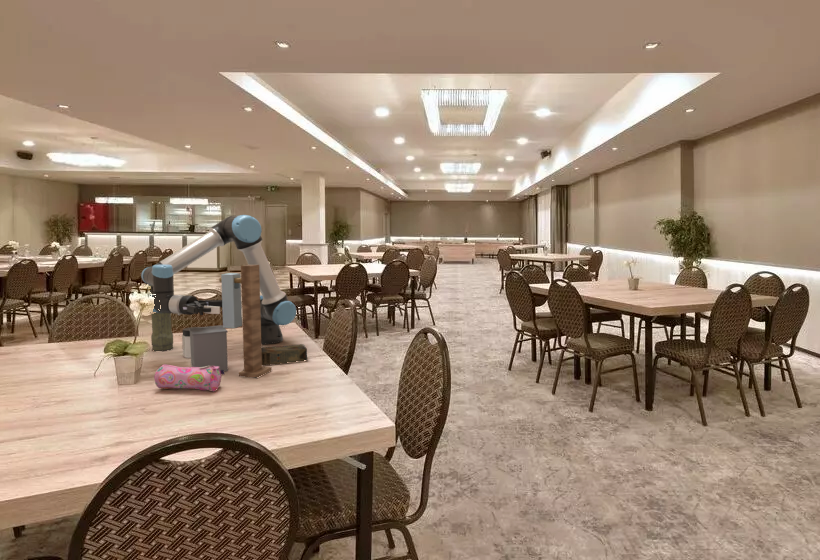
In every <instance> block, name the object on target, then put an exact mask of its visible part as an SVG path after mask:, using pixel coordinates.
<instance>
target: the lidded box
mask: <svg viewBox="0 0 820 560" xmlns="http://www.w3.org/2000/svg"><path fill="white" fill-rule="evenodd" d="M196 327H197V328H190V327H188V328H189V331H190V347H191V358H190V366H191V367H205V366H208V365H210V366H218V367H219V369H220V370H224V372H228V371H229V366H228V365H229V364H228V363H229V362H228V361H229V360H228V338H227V337H228V336H227V334H228V330H227V328H223V324H222V325H213V326H212V325H211V326H196Z"/></svg>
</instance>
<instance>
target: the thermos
mask: <svg viewBox="0 0 820 560" xmlns="http://www.w3.org/2000/svg"><path fill="white" fill-rule="evenodd" d="M148 286H151V290H150V292H151V293H152V294H153V286H152V285H148V284H147V288H146V290H147V289H148ZM147 292H148V290H147V291H146V293H147ZM150 314H151V313H150ZM151 330H152V334H151V336H150V338H151V340H150V341H151V348H152V351H153V350H154V351H153V352H156V351H162V352H168V351H167V350H169V351H172V350H173V349H174V334H173V332H172V330H173V329H172V313H158V312H156V313H154V314H151ZM171 349H172V350H171Z"/></svg>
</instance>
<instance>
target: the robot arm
mask: <svg viewBox="0 0 820 560" xmlns="http://www.w3.org/2000/svg"><path fill="white" fill-rule="evenodd" d="M262 229H263V228H262V226H261V223H260V221H259V220H258V219H257V218H255V217H253V216H251V215H248V214H240V215H238V214H236V215H229V216H227V217H225V218H224V219H222V220H220V221H219V222H217V223H215V224H214V225H213V226H212V227H210V228H209V230H208V232H207V233H205V234H203V235H201V236H200V237H197V239H194V240H193V241H191V242H190V243H188V244H186V245H184V246H183V247H182V248H180V249H179V250H177V251H175V252H174V253H172V254H170V255H169V256H167V257H166V258H164V259H162V260H160V261H159V262H158V263H156V264H154V265H152V266H147V267H146V268H144V269H143V270H142V272H141V280H142V281H143V282H144V283H145V284H146V285H147V286H148V285H152V286H153V294H156V295H152V297H154V298H155V299H154V304H155V306H154V309H153V312H158V313H171V314H174V315H175V314H177V316H181V315H186V316H187V315H190V316H191V315H198V314H199V316H203V315H204V314H211V315H220V314H221V308H222V299H205V300H204V299H198V298H197V297H196V296H194V295H184V294H175V290H174V285H175V284H174V282H175V281H174V276H175V274H177V273H179V272H180V271H182V270H183V269H185V268H186V267H189V265H191V264H192V263H194V262H197V260H199V259H201V258H202V257H204V256H206V255H207V254H209V253H210V252H212V251H213V250H215V249H217V248H218V247H224V246H225V245H228V244H229V243H234V245H235V247H236V249H237V250H238V251H239V252H242V254H243V256H244V258H245V260H246V263H247V265H250V264H251V265H259V276H260V313H261V345H273V344H277V343H281V342H283V341H284V334H283V333H282V329H281V326H286V325H290V324H292V322H293V321H294V320H295V317H296V315H297V307H296V305H295V304H294V303H293V302H292V301H290V300H289V298H288V295H287V294H286V292H285V291H283V290H281V288H280V286H279V283H278V281H277V279H276V276H275V274H274V272H273V269H272V266H271V264H270V263H269V260H268V258H267V256H266V253H265V251H264V249H263V246H262V243H263V238H262ZM150 296H151V295H150ZM155 296H156V297H155ZM159 300H160V302H159ZM160 305H161V309H160ZM241 306H242V300H241ZM158 309H159V310H160V311H159V310H158Z"/></svg>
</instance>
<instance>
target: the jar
mask: <svg viewBox="0 0 820 560" xmlns="http://www.w3.org/2000/svg"><path fill="white" fill-rule="evenodd" d="M197 327H198V326H191V327H186V328H183V329H182V335H181V340H182V341H181V344H182V357H184V358H185V359H191V347H190V331H189V328H197Z"/></svg>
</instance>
